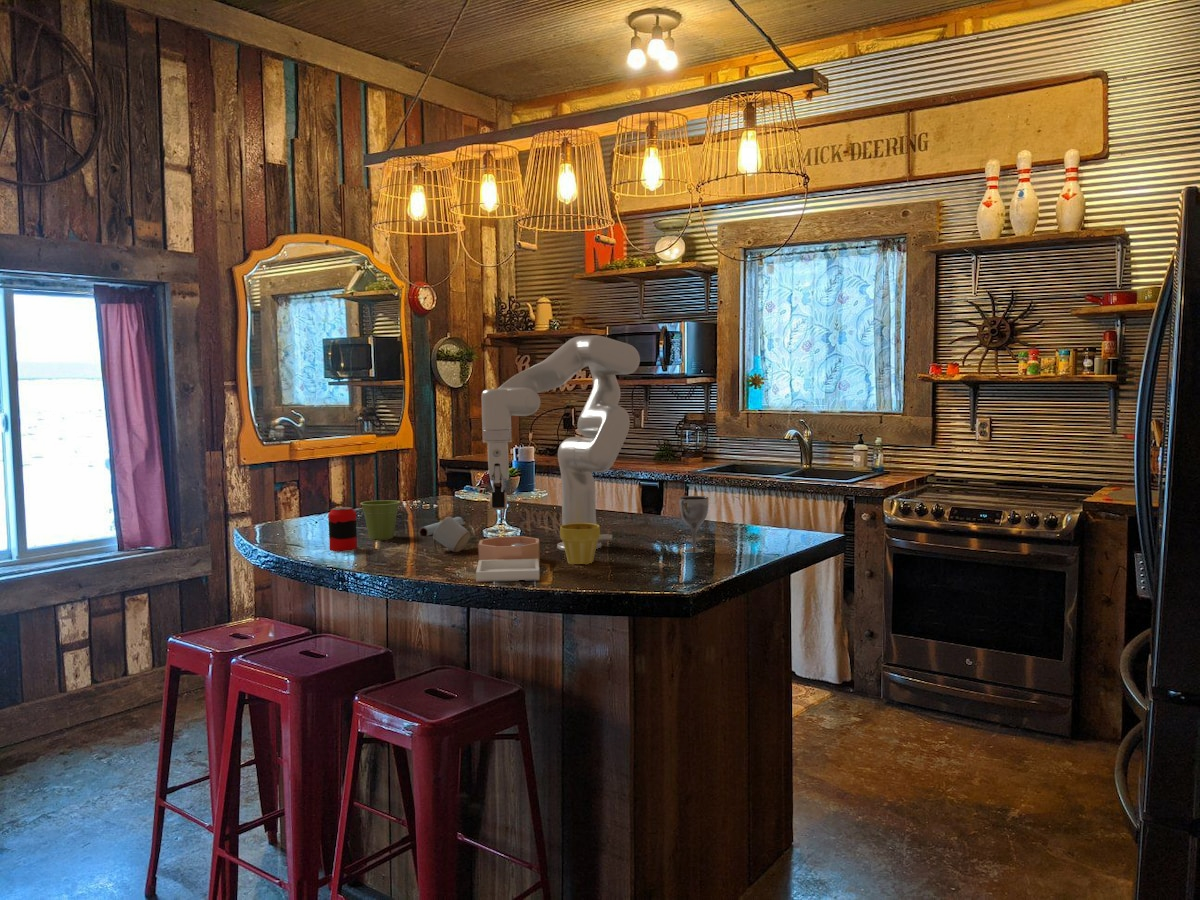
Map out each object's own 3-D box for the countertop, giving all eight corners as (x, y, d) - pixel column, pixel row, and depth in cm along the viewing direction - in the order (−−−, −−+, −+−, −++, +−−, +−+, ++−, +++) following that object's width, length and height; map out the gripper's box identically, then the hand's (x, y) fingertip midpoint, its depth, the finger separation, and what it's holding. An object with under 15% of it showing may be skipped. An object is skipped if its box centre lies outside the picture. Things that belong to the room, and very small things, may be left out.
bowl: (538, 555, 256) (538, 535, 255) (539, 567, 240) (539, 545, 240) (480, 557, 255) (480, 537, 254) (478, 569, 239) (477, 547, 239)
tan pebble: (507, 507, 249) (506, 492, 248) (506, 509, 244) (506, 494, 244) (490, 507, 248) (490, 492, 248) (489, 509, 244) (489, 494, 243)
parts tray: (538, 568, 239) (538, 558, 239) (539, 580, 224) (539, 570, 224) (479, 569, 238) (478, 560, 238) (476, 582, 223) (475, 572, 223)
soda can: (331, 553, 263) (329, 511, 262) (328, 549, 270) (326, 507, 269) (358, 551, 266) (357, 509, 265) (355, 547, 273) (353, 506, 272)
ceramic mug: (453, 559, 261) (459, 540, 257) (430, 542, 263) (436, 523, 258) (474, 540, 269) (481, 521, 265) (452, 524, 271) (458, 505, 267)
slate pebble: (527, 557, 250) (527, 542, 250) (527, 561, 246) (527, 545, 245) (511, 558, 250) (510, 543, 249) (510, 561, 245) (510, 546, 245)
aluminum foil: (428, 538, 289) (428, 527, 289) (409, 537, 292) (409, 526, 291) (463, 527, 310) (463, 516, 310) (446, 526, 313) (445, 516, 312)
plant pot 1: (409, 537, 288) (408, 501, 288) (381, 543, 278) (380, 505, 278) (381, 534, 295) (380, 498, 294) (353, 540, 285) (351, 503, 284)
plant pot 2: (586, 568, 238) (585, 530, 238) (552, 564, 244) (552, 527, 243) (607, 561, 247) (607, 524, 246) (574, 557, 253) (574, 521, 252)
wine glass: (712, 550, 261) (712, 496, 260) (703, 555, 254) (703, 500, 252) (685, 548, 264) (685, 495, 263) (675, 553, 257) (675, 498, 256)
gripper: (511, 438, 237) (512, 510, 238) (511, 434, 253) (513, 501, 255) (481, 438, 236) (483, 511, 237) (483, 434, 253) (485, 502, 254)
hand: (498, 505), depth 246 cm, fingers closed on tan pebble, 4 cm apart
